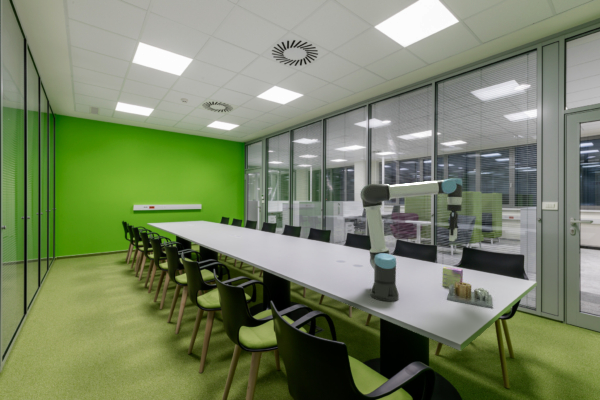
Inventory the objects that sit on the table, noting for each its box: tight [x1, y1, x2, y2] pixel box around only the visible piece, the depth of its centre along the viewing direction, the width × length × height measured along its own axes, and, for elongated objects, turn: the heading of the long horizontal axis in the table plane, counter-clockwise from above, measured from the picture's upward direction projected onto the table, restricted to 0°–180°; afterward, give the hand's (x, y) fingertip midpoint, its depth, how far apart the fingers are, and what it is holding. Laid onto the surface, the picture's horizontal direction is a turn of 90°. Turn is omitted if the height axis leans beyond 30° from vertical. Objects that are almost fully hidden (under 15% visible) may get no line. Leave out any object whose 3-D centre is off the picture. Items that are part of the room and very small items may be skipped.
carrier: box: [446, 284, 493, 309], centre depth 155 cm, size 21×21×6 cm
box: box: [441, 266, 464, 289], centre depth 175 cm, size 10×6×12 cm, turn 47°
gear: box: [454, 281, 472, 297], centre depth 158 cm, size 8×8×6 cm
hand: (453, 239), depth 163 cm, fingers open, 13 cm apart
